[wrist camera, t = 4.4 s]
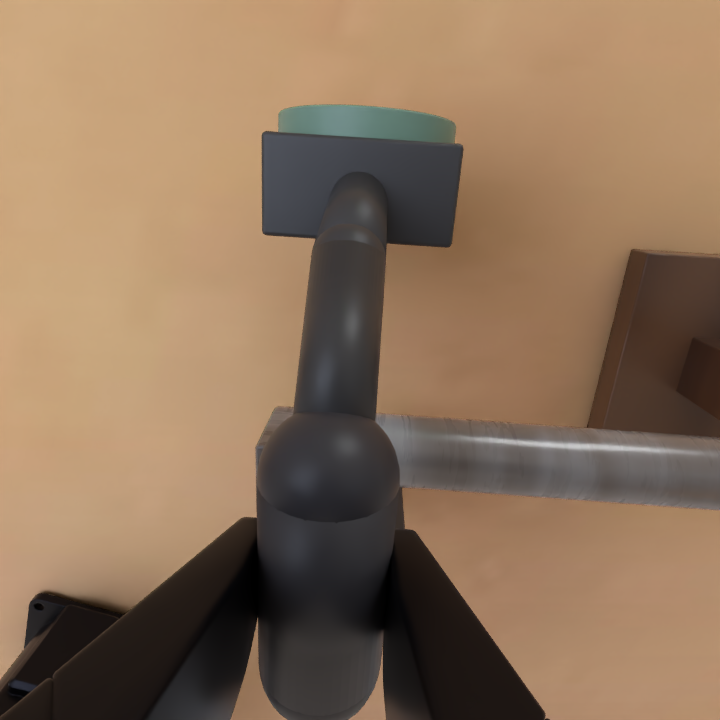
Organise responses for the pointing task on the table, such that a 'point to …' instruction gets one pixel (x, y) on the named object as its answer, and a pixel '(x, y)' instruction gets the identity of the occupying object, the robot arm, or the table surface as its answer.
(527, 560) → the table surface
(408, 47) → the table surface
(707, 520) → the table surface
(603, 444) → the hook stand
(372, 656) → the headphones
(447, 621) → the robot arm
